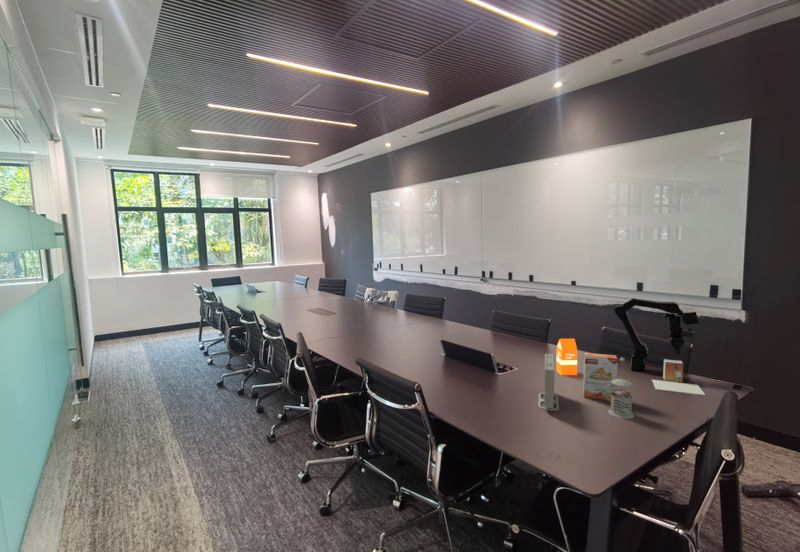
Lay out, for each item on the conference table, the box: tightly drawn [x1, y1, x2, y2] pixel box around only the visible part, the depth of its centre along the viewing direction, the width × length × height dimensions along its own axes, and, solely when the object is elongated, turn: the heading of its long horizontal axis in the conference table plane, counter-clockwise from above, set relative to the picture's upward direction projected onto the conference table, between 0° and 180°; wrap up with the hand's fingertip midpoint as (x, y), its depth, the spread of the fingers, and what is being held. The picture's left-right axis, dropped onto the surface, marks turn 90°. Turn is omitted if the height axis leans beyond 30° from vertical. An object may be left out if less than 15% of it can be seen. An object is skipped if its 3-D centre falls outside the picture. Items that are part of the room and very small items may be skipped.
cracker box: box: [582, 352, 619, 401], centre depth 187 cm, size 14×6×21 cm, turn 68°
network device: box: [537, 353, 560, 411], centre depth 183 cm, size 26×9×20 cm, turn 160°
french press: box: [604, 357, 635, 420], centre depth 170 cm, size 10×12×25 cm
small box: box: [662, 358, 684, 383], centre depth 208 cm, size 8×6×10 cm
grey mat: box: [651, 379, 706, 397], centre depth 198 cm, size 20×14×1 cm
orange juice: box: [555, 338, 578, 376], centre depth 223 cm, size 8×9×20 cm
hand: (678, 353), depth 215 cm, fingers open, 9 cm apart
